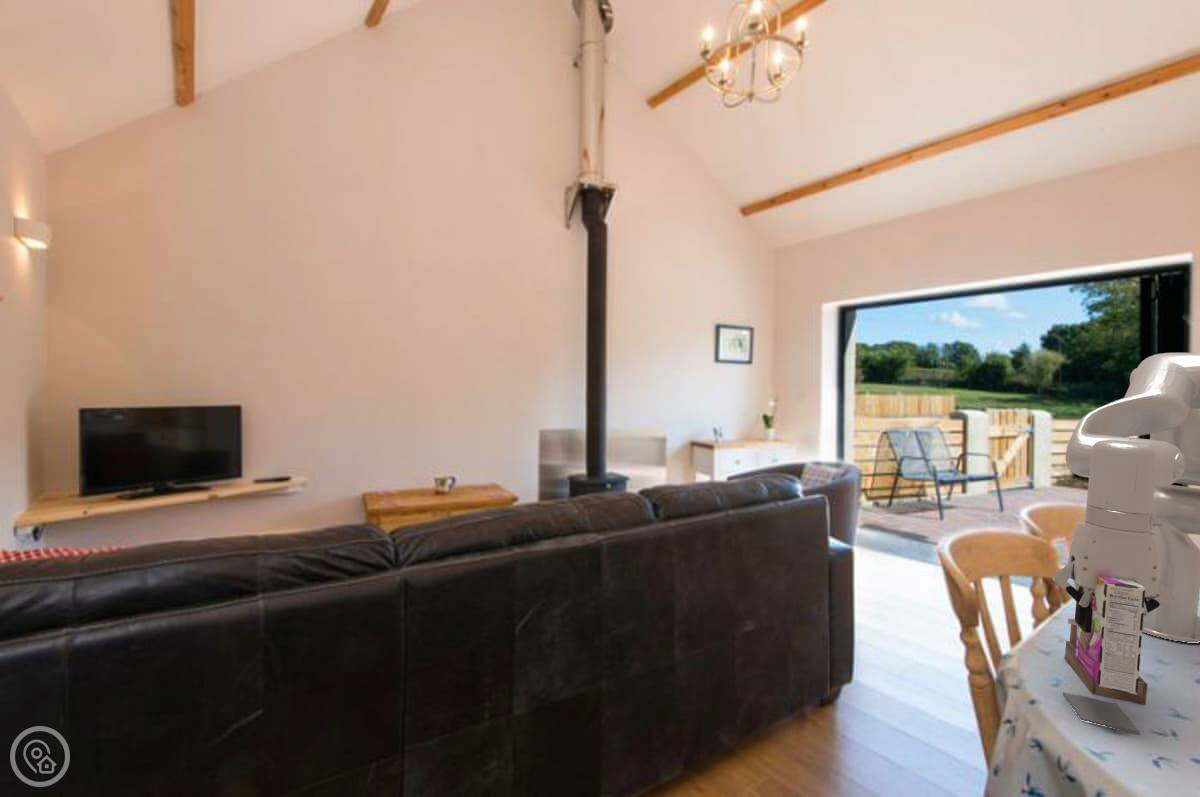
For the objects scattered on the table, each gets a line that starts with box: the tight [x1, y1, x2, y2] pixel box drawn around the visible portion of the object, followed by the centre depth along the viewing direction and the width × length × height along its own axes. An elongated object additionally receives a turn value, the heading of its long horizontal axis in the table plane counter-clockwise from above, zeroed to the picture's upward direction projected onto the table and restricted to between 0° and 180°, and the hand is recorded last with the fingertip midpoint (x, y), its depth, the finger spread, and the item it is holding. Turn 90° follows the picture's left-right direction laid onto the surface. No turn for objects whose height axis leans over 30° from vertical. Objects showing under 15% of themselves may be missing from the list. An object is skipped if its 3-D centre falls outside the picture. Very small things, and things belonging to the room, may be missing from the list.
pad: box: [1062, 691, 1141, 736], centre depth 90 cm, size 7×8×1 cm
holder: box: [1064, 617, 1148, 705], centre depth 100 cm, size 7×13×8 cm, turn 156°
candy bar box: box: [1075, 576, 1146, 695], centre depth 89 cm, size 11×5×16 cm, turn 155°
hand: (1106, 632), depth 89 cm, fingers closed on candy bar box, 5 cm apart
